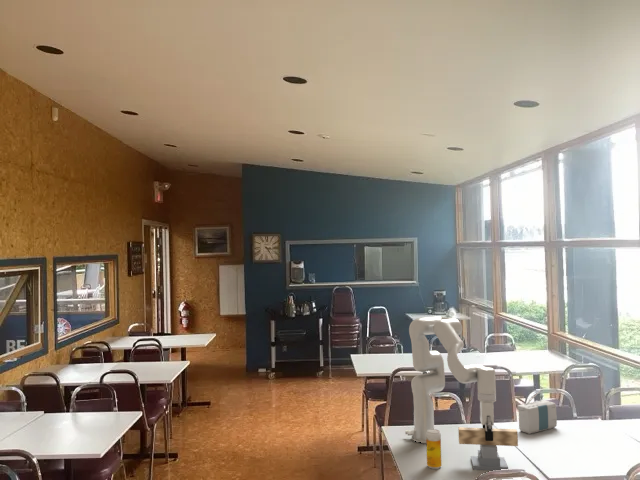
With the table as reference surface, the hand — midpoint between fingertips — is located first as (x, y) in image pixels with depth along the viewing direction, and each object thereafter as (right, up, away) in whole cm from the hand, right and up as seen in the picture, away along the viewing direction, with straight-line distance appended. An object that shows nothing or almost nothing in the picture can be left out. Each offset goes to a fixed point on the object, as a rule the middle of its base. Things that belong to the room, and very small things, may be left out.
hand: (487, 437), depth 239 cm
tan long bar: (0, -3, 0) cm, 3 cm away
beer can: (-23, -12, -1) cm, 26 cm away
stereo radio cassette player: (+40, -13, +47) cm, 63 cm away
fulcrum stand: (0, -12, -1) cm, 12 cm away
